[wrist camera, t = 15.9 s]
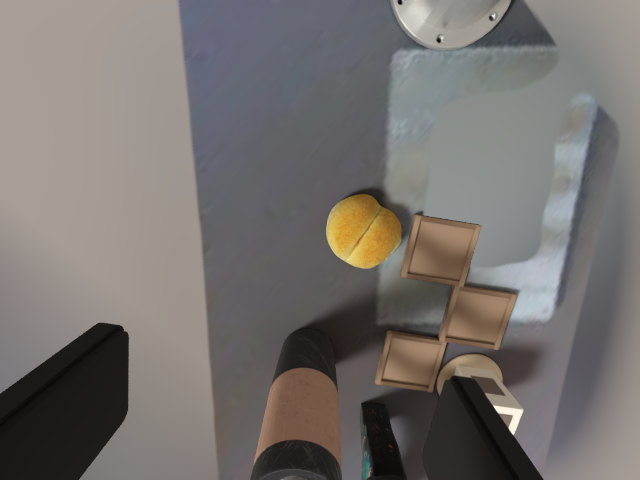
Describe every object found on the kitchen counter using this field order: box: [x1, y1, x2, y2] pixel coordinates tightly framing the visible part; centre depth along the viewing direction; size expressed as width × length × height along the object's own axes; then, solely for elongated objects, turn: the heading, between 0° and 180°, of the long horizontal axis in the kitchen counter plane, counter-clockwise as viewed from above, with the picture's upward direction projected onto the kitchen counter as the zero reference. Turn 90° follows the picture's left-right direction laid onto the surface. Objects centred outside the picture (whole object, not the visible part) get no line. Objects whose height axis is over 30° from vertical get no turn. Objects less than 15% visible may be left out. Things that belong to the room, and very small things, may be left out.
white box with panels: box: [454, 365, 523, 436], centre depth 40 cm, size 5×5×7 cm
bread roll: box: [326, 194, 402, 269], centre depth 37 cm, size 8×9×4 cm
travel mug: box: [250, 329, 342, 480], centre depth 34 cm, size 8×8×20 cm
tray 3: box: [375, 330, 447, 392], centre depth 43 cm, size 8×8×1 cm
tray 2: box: [438, 285, 517, 350], centre depth 41 cm, size 8×8×1 cm
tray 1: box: [400, 214, 481, 287], centre depth 39 cm, size 8×8×1 cm
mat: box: [436, 354, 503, 396], centre depth 44 cm, size 9×9×1 cm
